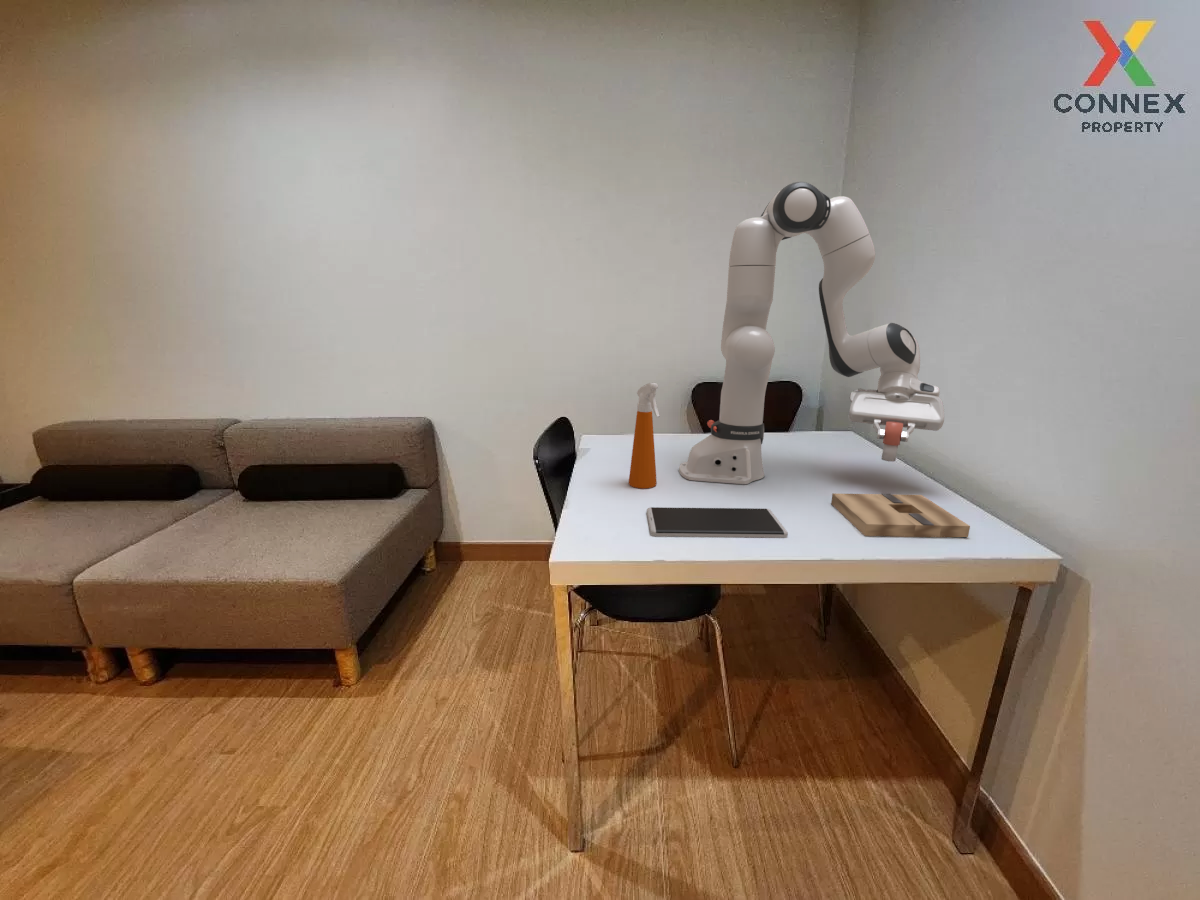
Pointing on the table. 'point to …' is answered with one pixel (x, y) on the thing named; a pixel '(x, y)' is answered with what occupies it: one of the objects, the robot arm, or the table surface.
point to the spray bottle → (644, 440)
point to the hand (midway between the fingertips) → (892, 439)
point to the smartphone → (714, 522)
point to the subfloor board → (898, 516)
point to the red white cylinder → (891, 440)
